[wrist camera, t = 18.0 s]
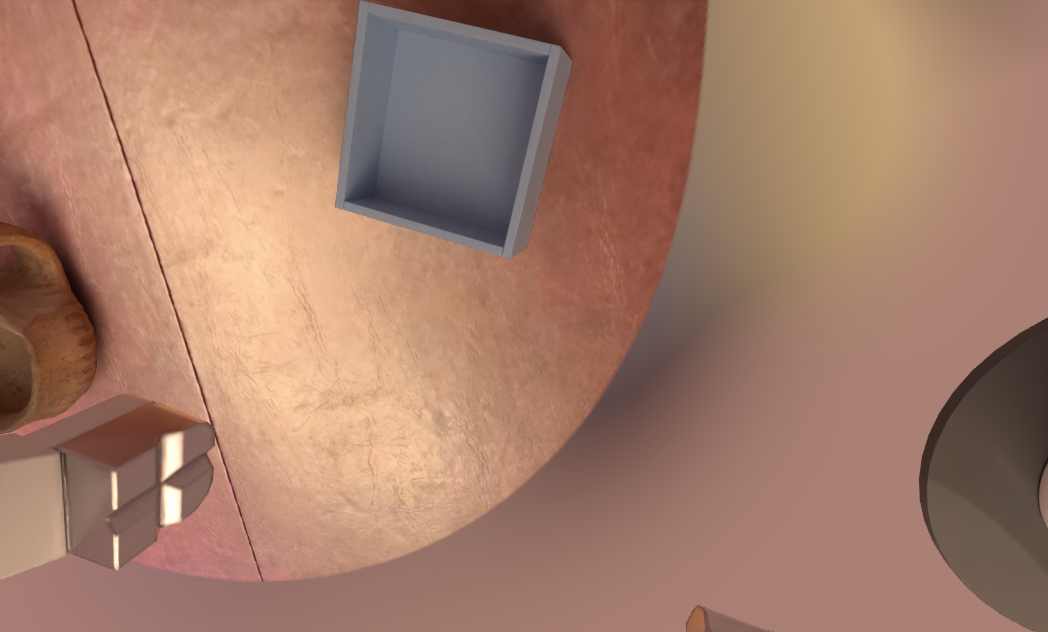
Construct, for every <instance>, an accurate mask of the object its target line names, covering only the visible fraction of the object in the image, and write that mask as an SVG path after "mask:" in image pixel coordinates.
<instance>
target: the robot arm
mask: <svg viewBox="0 0 1048 632" xmlns="http://www.w3.org/2000/svg"><path fill="white" fill-rule="evenodd" d="M214 446H215V428H214V427H212V426H211V425H210V424H209V423H208V422H205V421H203V420H200V419H198V418H195V417H193V416H190V415H188V414H186V413H183V412H181V411H178V410H176V409H173V408H171V407H168V406H166V405H163V404H161V403H156V402H154V401H152V400H149V399H147V398H144V397H142V396H139V395H137V394H121V395H119V396H116V397H114V398H112V399H109V400H107V401H105V402H102V403H100V404H98V405H95V406H93V407H91V408H88V409H86V410H84V411H81V412H79V413H77V414H74V415H72V416H70V417H67V418H65V419H63V420H60V421H58V422H56V423H54V424H51V425H49V426H47V427H44V428H42V429H40V430H37V431H35V432H33V433H30V434H28V435H26V436H20V435H17V434H15V433H14V434H7V435H0V580H1V579H4V578H7V577H9V576H12V575H15V574H17V573H20V572H23V571H25V570H28V569H31V568H34V567H36V566H39V565H42V564H45V563H47V562H50V561H53V560H55V559H58V558H61V557H63V556H66V555H67V552H68V553H71V554H73V555H76V556H79V557H81V558H84V559H86V560H89V561H91V562H94V563H97V564H99V565H102V566H104V567H107V568H109V569H112V570H114V571H117V570H119V569H120V568H121V567H123V566H124V565H125V564H126V563H128V562H129V561H131V560H132V559H133V558H134V557H136V556H137V555H138V554H140V553H141V552H142V551H144V550H145V549H146V548H148V547H149V546H150V545H152V544H153V543H154V542H156V541H157V537H158V534H159V531H160V528H162V527H165V526H169V525H172V524H176V523H179V522H182V521H183V520H184V519H185V518H187V517H188V516H189V515H190V514H192V513H193V512H194V511H195V510H196V509H197V508H198V507H199V505H200V504H201V503H202V501H203V500H204V498H205V497H206V496H207V494H208V492H209V489H210V487H211V484H212V481H213V471H214V467H213V465H212V463H211V461H210V459H209V457H208V455H207V452H208V451H209V450H211V449H212V448H213V447H214ZM1039 506H1040V511H1041V515H1042V518H1043V521H1044V523H1045V525H1046V527H1047V529H1048V463H1047V465H1046V467H1045V469H1044V472H1043V474H1042V478H1041V482H1040V487H1039ZM686 632H772V631H769V630H768V631H766V630H764V629H762V628H759V627H756V626H754V625H751V624H748V623H746V622H743V621H740V620H737V619H735V618H732V617H729V616H726V615H723V614H721V613H718V612H715V611H713V610H710V609H707V608H704V607H702V606H699V605H697V606H696V607H695V609H694V610H693V611H692V612H691V615H690V616H689V618H688V620H687V622H686Z"/></svg>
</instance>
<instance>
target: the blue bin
mask: <svg viewBox="0 0 1048 632" xmlns="http://www.w3.org/2000/svg"><path fill="white" fill-rule="evenodd" d="M572 63H573V62H572V60H571V59H570V58H569V56H568V55H567V54H566V52H565V51H564V50H563V48H562V47H561V46H558V45H554V44H552V45H551V44H550V43H545V42H541V41H537V40H532V39H528V38H524V37H519V36H515V35H511V34H507V33H502V32H498V31H494V30H489V29H485V28H481V27H476V26H472V25H468V24H463V23H459V22H455V21H450V20H446V19H442V18H437V17H433V16H429V15H424V14H420V13H416V12H411V11H407V10H403V9H398V8H394V7H390V6H385V5H381V4H377V3H372V2H368V1H364V0H360V4H359V12H358V20H357V29H356V37H355V45H354V53H353V62H352V70H351V78H350V86H349V95H348V103H347V111H346V120H345V128H344V136H343V144H342V153H341V161H340V169H339V177H338V186H337V194H336V202H335V207H336V208H339V209H344V210H346V211H350V212H353V213H356V214H360V215H363V216H367V217H370V218H373V219H377V220H380V221H384V222H387V223H390V224H394V225H397V226H400V227H404V228H407V229H411V230H414V231H417V232H421V233H424V234H428V235H431V236H434V237H438V238H441V239H444V240H448V241H451V242H455V243H458V244H461V245H465V246H468V247H472V248H475V249H478V250H482V251H485V252H488V253H492V254H495V255H499V256H503V257H505V258H509V259H511V258H512V257H514V256H515V255H517V254H518V253H520V252H521V251H523V250H524V249H525V248H527V244H528V240H529V236H530V232H531V228H532V224H533V220H534V216H535V212H536V208H537V204H538V200H539V196H540V192H541V188H542V184H543V180H544V176H545V172H546V168H547V164H548V160H549V156H550V152H551V148H552V144H553V140H554V136H555V132H556V128H557V123H558V119H559V115H560V111H561V107H562V103H563V99H564V95H565V91H566V87H567V83H568V79H569V75H570V71H571V67H572Z"/></svg>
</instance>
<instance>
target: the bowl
mask: <svg viewBox="0 0 1048 632" xmlns="http://www.w3.org/2000/svg"><path fill="white" fill-rule="evenodd" d="M4 245H11V246H12V248H13V249H14V250H15V252H16V253H17V255H18V257H17V259H16V261H15V263H14V265H13V266H11V267H9V268H6V269H4V270H2V271H0V434H4V433H9V432H12V431H14V430H17V429H19V428H21V427H23V426H24V425H27V424H29V423H32V422H34V421H38V420H42V419H47V418H52V417H55V416H57V415H59V414H62V413H64V412H65V411H66V410H67V409H69V407H70V406H72V405H73V404H74V403H75V402H76V401H77V400H78V399H79V398H80V397H81V396H82V395H83V394H84V393H85V392H86V391H87V390H88V388H89V386H90V385H91V383H92V381H93V379H94V375H95V372H96V368H97V345H96V339H95V335H94V332H93V330H94V329H95V328H94V327H93V326H92V324H91V322H90V321H89V319H88V315H87V314H86V313H85V312H84V310H83V306H82V305H81V304H80V303H79V302H78V301H77V299H76V296H75V295H74V294H73V293H72V291H71V287H70V285H69V282H68V280H67V277H66V274H65V273H64V269H63V266H62V264H61V262H60V260H59V258H58V256H57V254H56V253H55V251H54V249H53V248H52V247H51V246H50V245H49V244H48V243H47V242H46V241H45V240H44V239H43V238H41V237H39V236H38V235H36V234H35V233H32V232H30V231H28V230H26V229H23V228H21V227H18V226H15V225H11V224H7V223H2V222H0V246H4Z"/></svg>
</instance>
